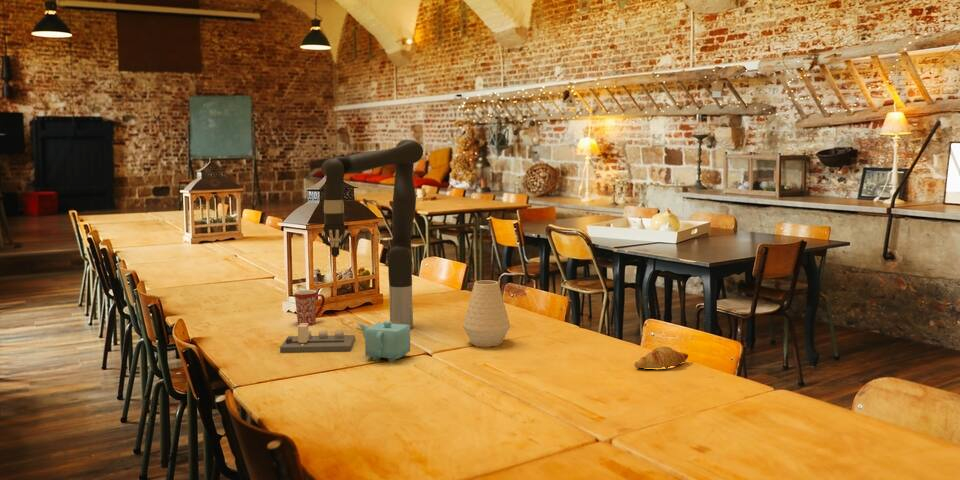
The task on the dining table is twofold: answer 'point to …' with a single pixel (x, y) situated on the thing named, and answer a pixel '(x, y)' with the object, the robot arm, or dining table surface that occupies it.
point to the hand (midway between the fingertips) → (335, 256)
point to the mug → (307, 306)
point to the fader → (303, 333)
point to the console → (319, 343)
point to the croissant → (661, 358)
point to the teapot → (386, 340)
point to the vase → (486, 315)
